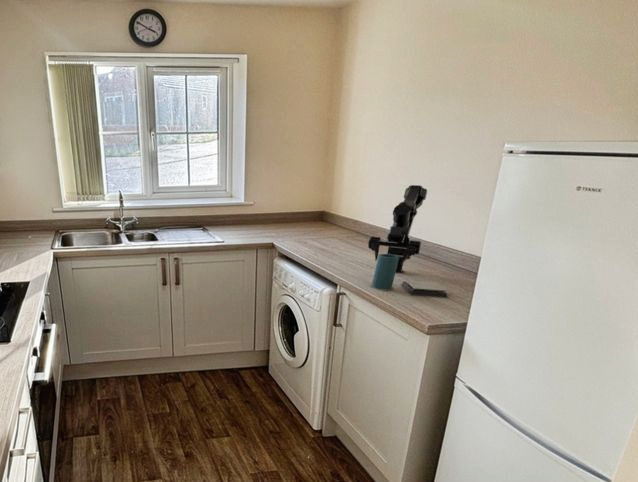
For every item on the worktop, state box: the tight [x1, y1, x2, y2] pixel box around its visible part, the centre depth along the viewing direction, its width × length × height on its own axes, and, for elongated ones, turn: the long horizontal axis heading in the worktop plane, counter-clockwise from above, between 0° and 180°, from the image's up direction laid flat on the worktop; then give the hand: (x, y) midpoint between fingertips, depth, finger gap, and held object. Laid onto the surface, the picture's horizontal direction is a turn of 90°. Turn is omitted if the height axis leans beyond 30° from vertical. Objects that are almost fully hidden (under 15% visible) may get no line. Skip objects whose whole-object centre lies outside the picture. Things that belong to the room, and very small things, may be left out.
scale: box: [401, 280, 448, 298], centre depth 181 cm, size 14×12×2 cm
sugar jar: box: [371, 253, 399, 291], centre depth 183 cm, size 7×7×13 cm
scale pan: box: [406, 280, 447, 293], centre depth 180 cm, size 11×11×1 cm
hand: (388, 261), depth 184 cm, fingers open, 9 cm apart
